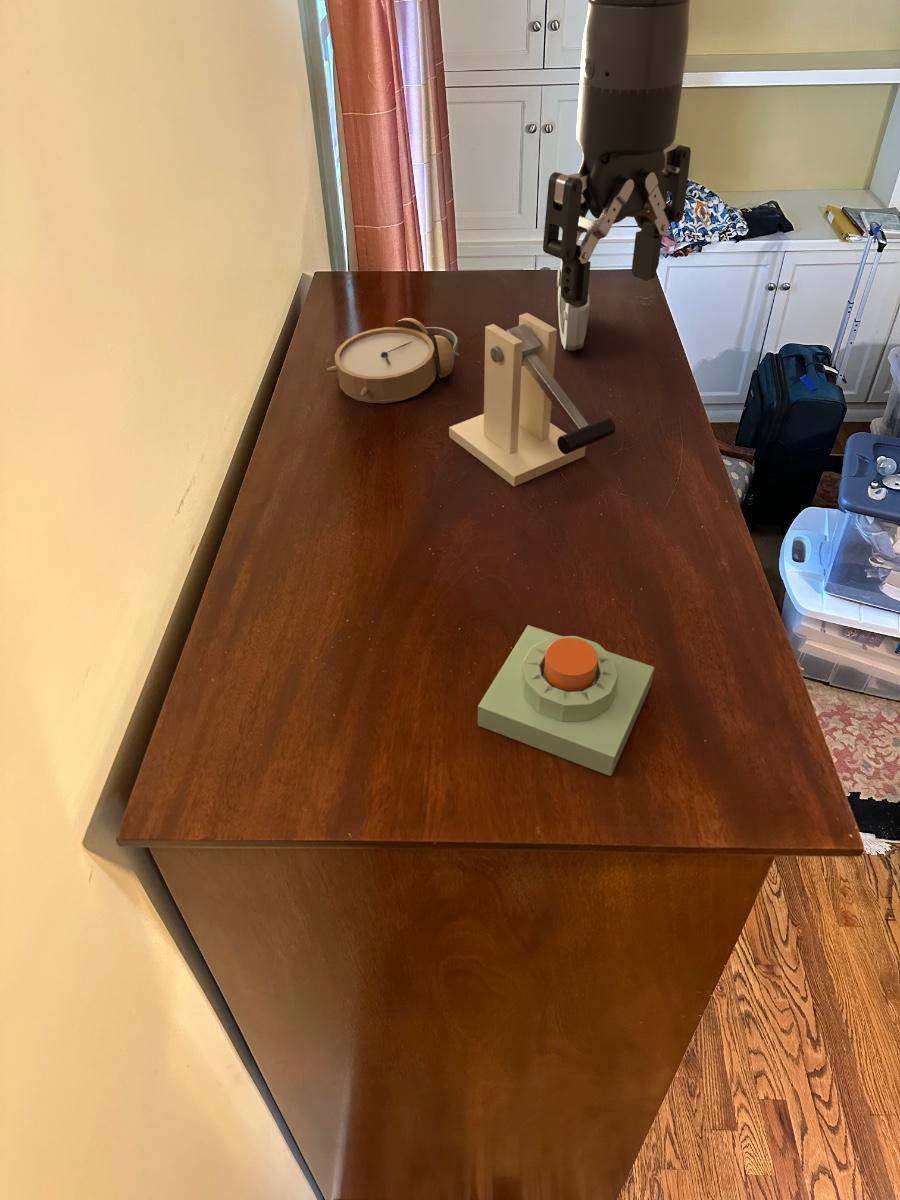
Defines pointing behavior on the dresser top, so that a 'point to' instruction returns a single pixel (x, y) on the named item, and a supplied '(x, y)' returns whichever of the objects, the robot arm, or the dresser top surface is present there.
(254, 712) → the dresser top surface
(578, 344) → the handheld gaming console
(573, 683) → the button
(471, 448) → the bracket
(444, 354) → the alarm clock
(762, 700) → the dresser top surface
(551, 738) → the button block
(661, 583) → the dresser top surface
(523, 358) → the lever
